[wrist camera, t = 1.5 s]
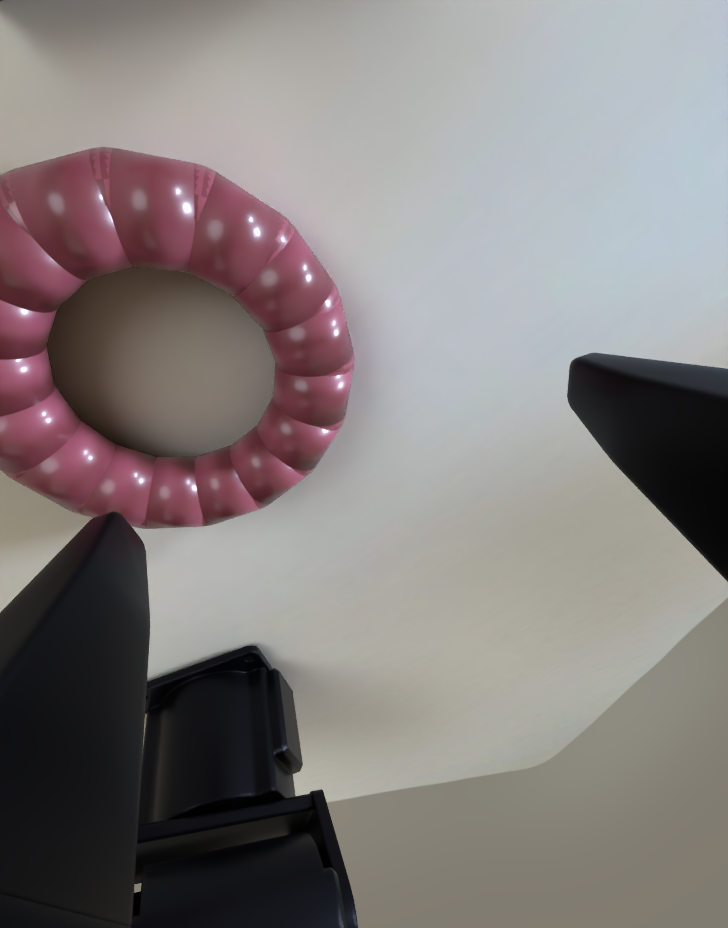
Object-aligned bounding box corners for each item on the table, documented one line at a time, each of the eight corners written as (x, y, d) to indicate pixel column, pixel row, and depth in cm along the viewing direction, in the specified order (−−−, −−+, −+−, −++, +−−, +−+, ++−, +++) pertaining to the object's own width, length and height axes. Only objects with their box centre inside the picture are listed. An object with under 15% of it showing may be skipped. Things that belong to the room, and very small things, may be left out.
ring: (98, 534, 17) (84, 583, 15) (-170, 219, 10) (-255, 238, 8) (370, 443, 18) (388, 479, 16) (284, 98, 11) (299, 90, 9)
